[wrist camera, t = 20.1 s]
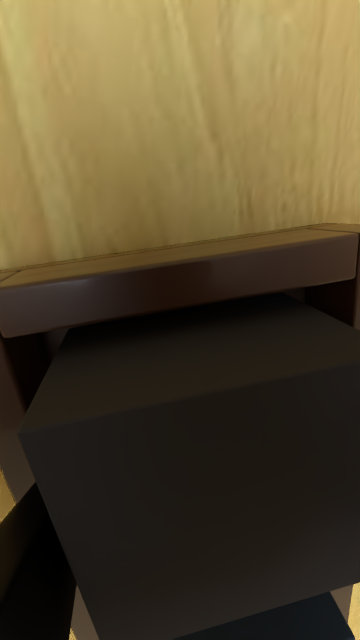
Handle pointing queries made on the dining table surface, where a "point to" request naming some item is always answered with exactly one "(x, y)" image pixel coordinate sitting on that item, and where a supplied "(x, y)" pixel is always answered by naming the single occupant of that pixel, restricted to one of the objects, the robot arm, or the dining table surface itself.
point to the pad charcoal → (201, 462)
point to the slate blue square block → (285, 623)
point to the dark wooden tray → (157, 297)
